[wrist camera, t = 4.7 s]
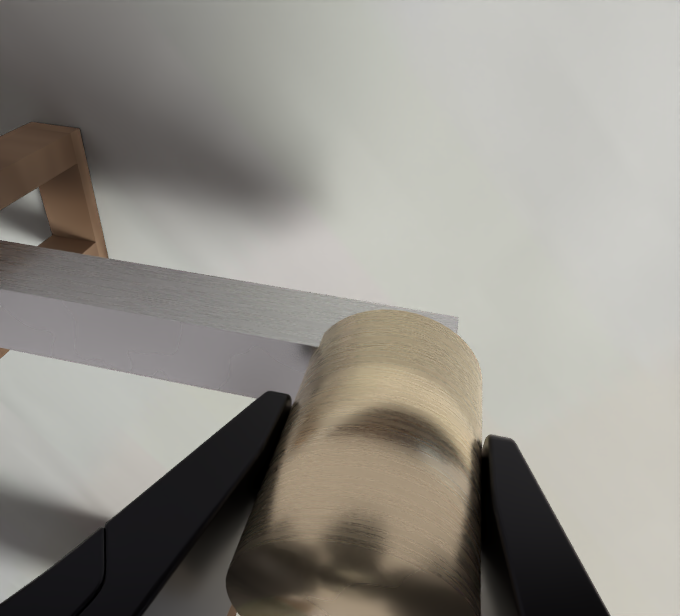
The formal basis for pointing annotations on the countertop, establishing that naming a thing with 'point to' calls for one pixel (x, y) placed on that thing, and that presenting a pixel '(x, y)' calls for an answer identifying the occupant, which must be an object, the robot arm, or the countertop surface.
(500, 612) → the robot arm
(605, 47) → the countertop surface
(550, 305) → the countertop surface
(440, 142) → the countertop surface
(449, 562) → the rod
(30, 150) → the block
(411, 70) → the countertop surface
